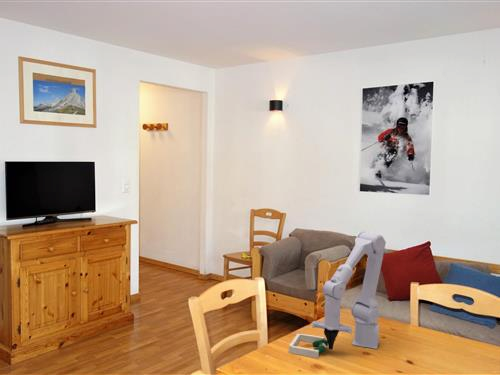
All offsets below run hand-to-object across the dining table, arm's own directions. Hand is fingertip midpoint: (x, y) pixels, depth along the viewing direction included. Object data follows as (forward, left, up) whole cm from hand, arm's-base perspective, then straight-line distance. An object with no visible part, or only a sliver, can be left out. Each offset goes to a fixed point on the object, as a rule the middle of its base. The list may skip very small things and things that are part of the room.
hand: (330, 348), depth 170 cm
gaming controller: (+4, 0, -2) cm, 5 cm away
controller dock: (+8, 0, -1) cm, 9 cm away
